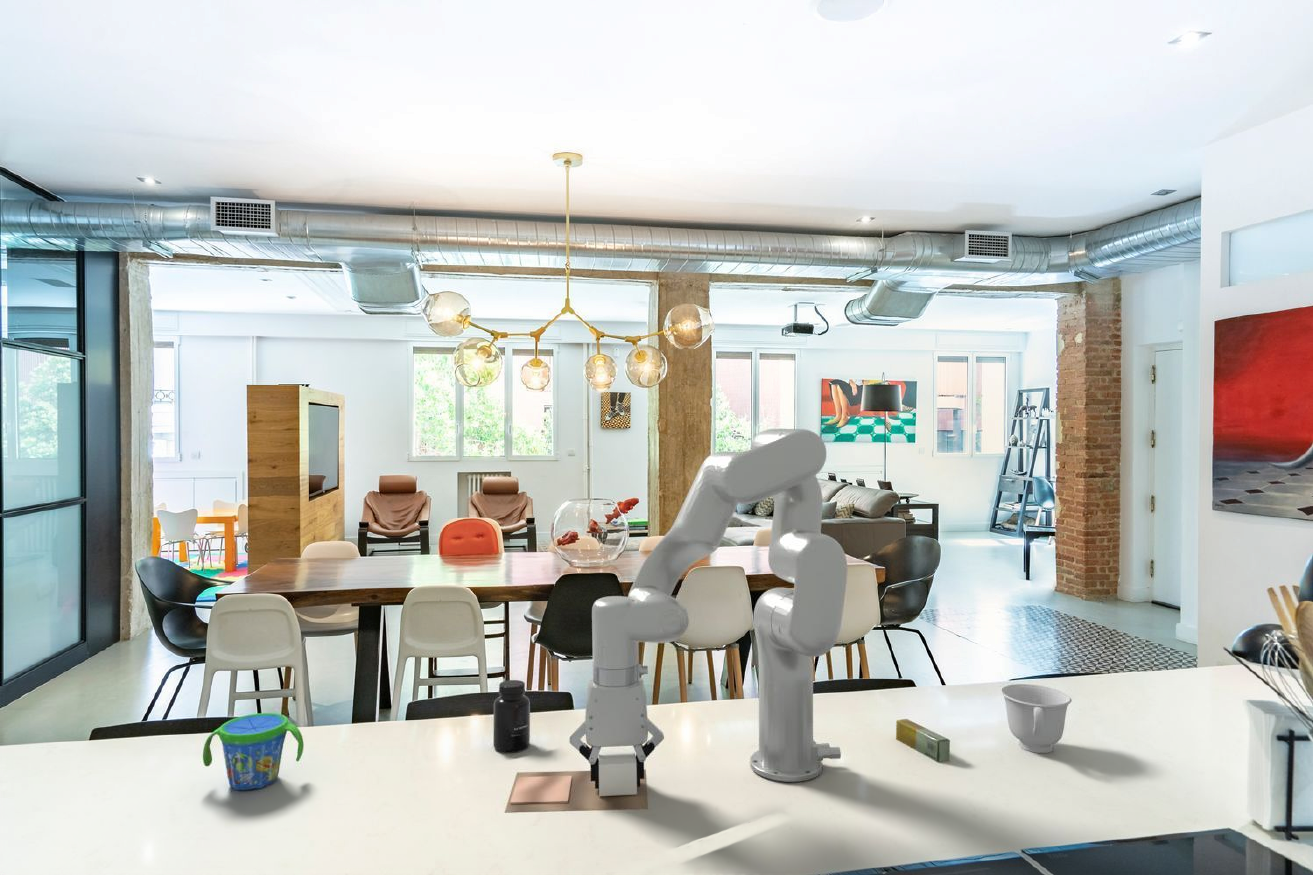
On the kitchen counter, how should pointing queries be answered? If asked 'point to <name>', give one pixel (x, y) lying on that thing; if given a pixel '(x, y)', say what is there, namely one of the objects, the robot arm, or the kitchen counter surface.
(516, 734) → the supplement bottle
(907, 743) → the medication box
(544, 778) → the post board
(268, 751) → the snack cup
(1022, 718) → the teacup
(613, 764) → the matte white cube
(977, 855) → the kitchen counter surface
